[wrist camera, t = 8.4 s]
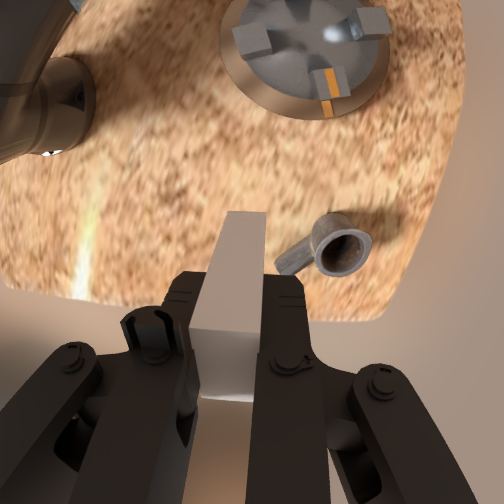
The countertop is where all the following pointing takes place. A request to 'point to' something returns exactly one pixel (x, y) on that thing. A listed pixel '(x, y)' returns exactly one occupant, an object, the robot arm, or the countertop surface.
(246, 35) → the four-tab metal disc
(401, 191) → the countertop surface
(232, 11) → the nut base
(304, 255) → the pipe
